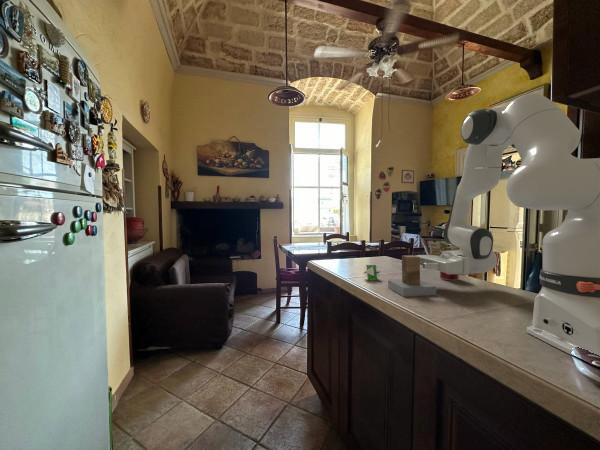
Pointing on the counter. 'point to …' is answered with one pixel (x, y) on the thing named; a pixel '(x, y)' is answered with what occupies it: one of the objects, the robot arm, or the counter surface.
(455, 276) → the soda can
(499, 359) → the counter surface
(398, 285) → the slab
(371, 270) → the geometric puzzle
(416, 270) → the pillar
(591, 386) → the counter surface
